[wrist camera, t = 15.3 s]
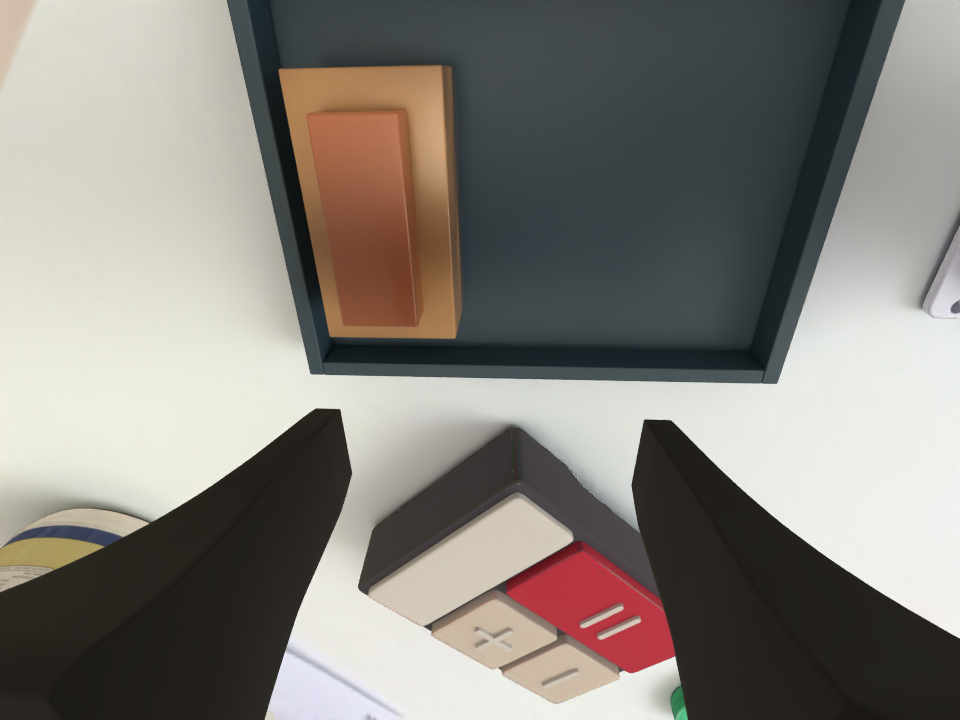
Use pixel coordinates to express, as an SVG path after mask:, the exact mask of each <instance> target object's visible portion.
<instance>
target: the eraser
mask: <svg viewBox="0 0 960 720" xmlns="http://www.w3.org/2000/svg"><path fill="white" fill-rule="evenodd" d="M278 72H279V77H280V82H281V87H282V92H283V97H284V103H285V108H286V113H287V118H288V123H289V128H290V134H291V139H292V144H293V149H294V154H295V159H296V165H297V170H298V175H299V180H300V185H301V190H302V196H303V201H304V206H305V211H306V216H307V221H308V227H309V232H310V237H311V242H312V247H313V252H314V258H315V263H316V268H317V273H318V278H319V283H320V289H321V294H322V299H323V304H324V309H325V314H326V320H327V325H328V330H329V335H330V337H373V338H446V339H455V338H456V335H457V331H458V326H459V322H460V318H461V314H462V310H463V305H464V301H465V299H464V273H463V247H462V222H461V196H460V170H459V144H458V119H457V93H456V69H455V67H452V66H446V65H411V66H371V67H332V68H292V69H279V71H278Z"/></svg>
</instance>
